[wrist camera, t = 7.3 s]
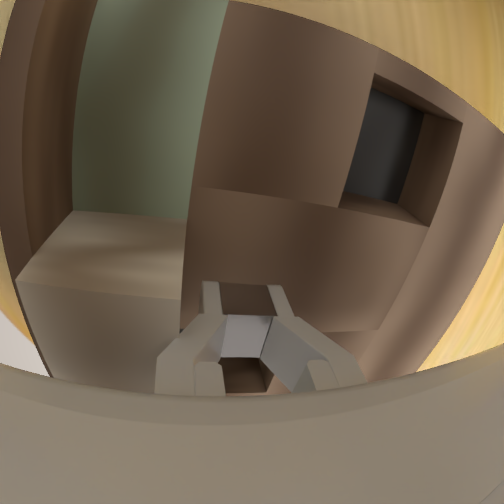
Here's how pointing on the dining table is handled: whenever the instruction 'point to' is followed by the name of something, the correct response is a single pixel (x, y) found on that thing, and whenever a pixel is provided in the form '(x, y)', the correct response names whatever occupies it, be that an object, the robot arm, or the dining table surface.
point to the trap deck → (255, 164)
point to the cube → (106, 297)
